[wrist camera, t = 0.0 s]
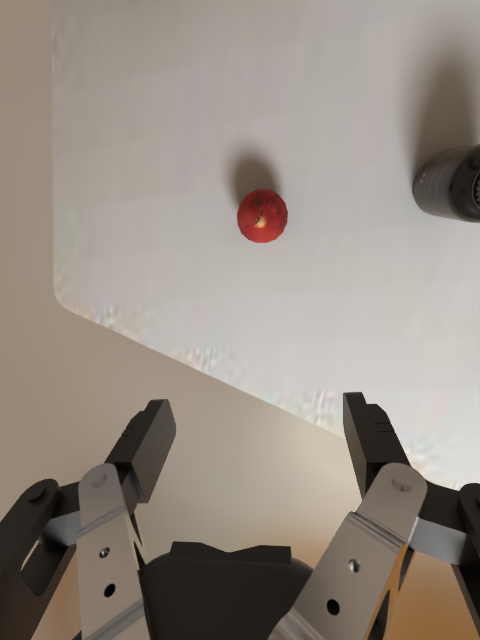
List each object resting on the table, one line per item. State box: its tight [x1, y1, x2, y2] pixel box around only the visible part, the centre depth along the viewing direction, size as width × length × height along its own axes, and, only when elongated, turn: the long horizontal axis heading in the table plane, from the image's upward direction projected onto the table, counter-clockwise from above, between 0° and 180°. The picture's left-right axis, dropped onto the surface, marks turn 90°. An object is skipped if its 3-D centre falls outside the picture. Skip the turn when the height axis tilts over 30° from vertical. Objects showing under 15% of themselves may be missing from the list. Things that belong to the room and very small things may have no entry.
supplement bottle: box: [414, 144, 480, 223], centre depth 29 cm, size 7×7×12 cm
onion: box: [237, 190, 288, 243], centre depth 34 cm, size 6×6×8 cm
